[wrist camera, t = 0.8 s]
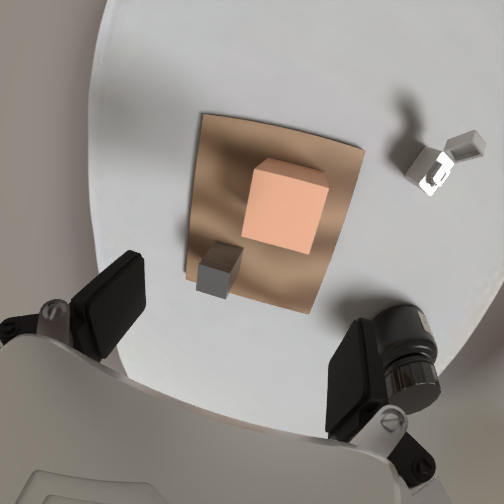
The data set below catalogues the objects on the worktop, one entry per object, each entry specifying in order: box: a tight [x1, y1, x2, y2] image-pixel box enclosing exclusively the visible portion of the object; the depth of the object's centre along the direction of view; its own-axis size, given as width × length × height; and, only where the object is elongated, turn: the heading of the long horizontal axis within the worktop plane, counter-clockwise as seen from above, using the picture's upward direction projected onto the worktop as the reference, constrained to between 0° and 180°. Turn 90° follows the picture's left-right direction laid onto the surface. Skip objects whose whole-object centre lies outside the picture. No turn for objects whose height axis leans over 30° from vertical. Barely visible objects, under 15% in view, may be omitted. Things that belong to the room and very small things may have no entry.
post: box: [196, 240, 244, 299], centre depth 29 cm, size 3×3×5 cm
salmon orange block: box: [241, 158, 329, 255], centre depth 23 cm, size 6×6×7 cm
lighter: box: [405, 130, 486, 196], centre depth 18 cm, size 7×2×8 cm, turn 150°
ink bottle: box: [373, 306, 441, 415], centre depth 27 cm, size 10×9×12 cm
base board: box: [186, 114, 365, 314], centre depth 29 cm, size 20×16×1 cm
